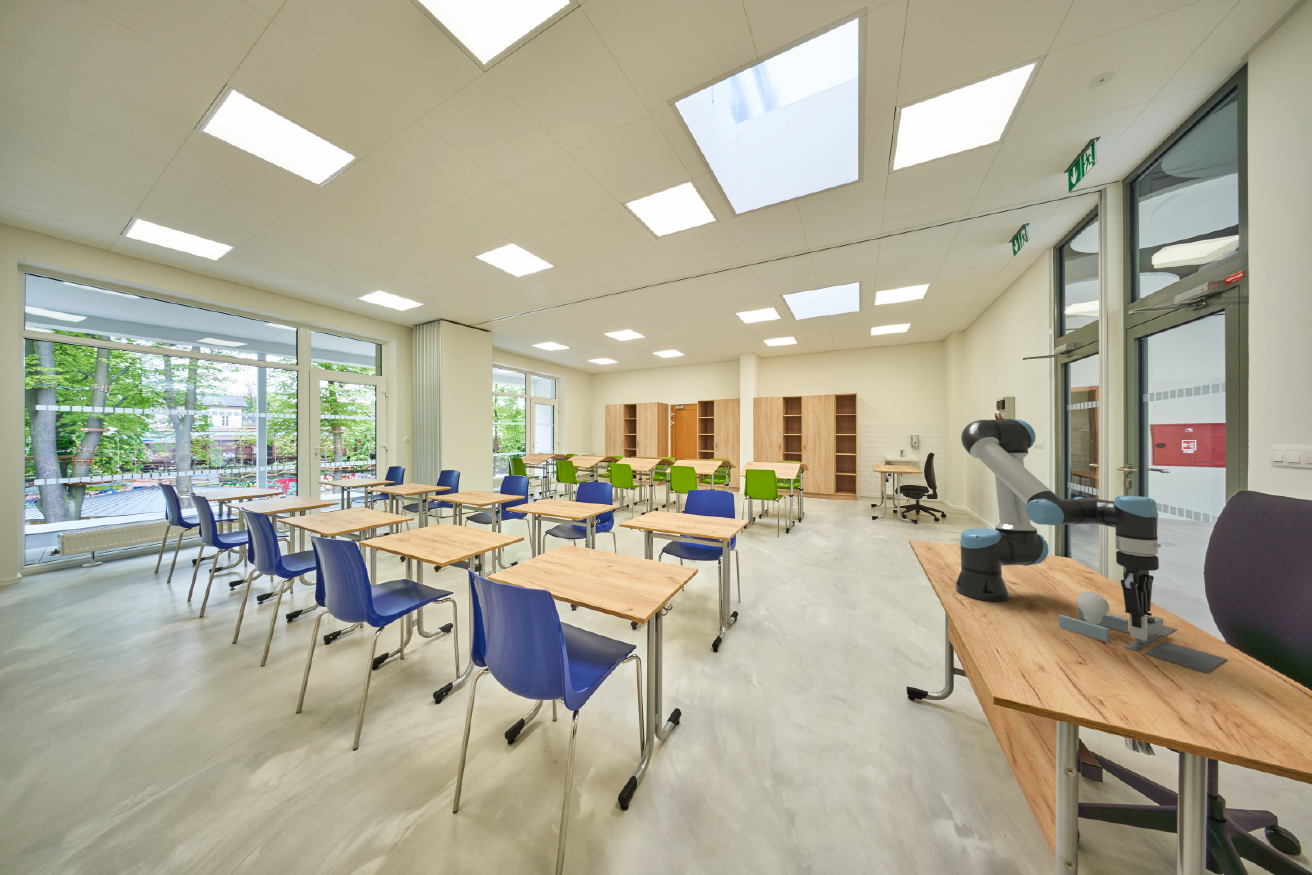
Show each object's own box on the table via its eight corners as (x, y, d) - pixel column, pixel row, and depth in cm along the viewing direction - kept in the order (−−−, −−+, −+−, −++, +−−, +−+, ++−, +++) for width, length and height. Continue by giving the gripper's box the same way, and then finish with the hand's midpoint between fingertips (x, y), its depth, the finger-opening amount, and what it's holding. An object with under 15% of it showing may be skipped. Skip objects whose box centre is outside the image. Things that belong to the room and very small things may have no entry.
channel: (1059, 627, 121) (1058, 615, 121) (1081, 617, 127) (1080, 606, 127) (1106, 642, 112) (1106, 629, 112) (1128, 631, 118) (1127, 619, 118)
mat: (1144, 654, 106) (1144, 652, 106) (1165, 642, 111) (1165, 641, 111) (1207, 673, 96) (1207, 672, 96) (1226, 659, 102) (1226, 658, 102)
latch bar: (1135, 641, 111) (1134, 620, 111) (1153, 631, 117) (1153, 611, 117) (1146, 644, 110) (1145, 623, 110) (1164, 634, 115) (1163, 614, 115)
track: (1124, 647, 109) (1124, 646, 109) (1164, 626, 120) (1164, 625, 120) (1137, 651, 107) (1137, 650, 107) (1176, 629, 118) (1176, 628, 118)
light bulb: (1117, 634, 116) (1116, 596, 116) (1093, 634, 116) (1092, 596, 116) (1092, 624, 123) (1091, 588, 123) (1070, 624, 123) (1069, 588, 123)
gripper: (1147, 559, 104) (1149, 649, 104) (1167, 553, 110) (1169, 639, 109) (1106, 552, 111) (1108, 636, 111) (1127, 546, 116) (1129, 627, 116)
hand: (1138, 637), depth 110 cm, fingers closed
